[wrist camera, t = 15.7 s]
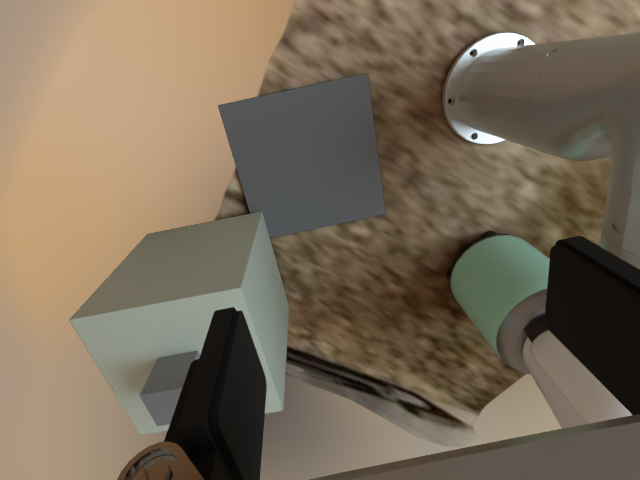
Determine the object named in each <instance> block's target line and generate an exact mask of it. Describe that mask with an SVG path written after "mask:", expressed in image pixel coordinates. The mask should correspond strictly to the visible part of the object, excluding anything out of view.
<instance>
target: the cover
mask: <svg viewBox="0 0 640 480" xmlns="http://www.w3.org/2000/svg"><path fill="white" fill-rule="evenodd" d="M231 307H234V308H235V309H236V311H240V310H241V311H242V312H243V314H244V316H245V319H246V322H247V325H248V328H249V331H250V334H251V336H252V339H253V342H254V345H255V348H256V351H257V353H258V356H259V359H260V362H261V365H262V368H263V371H264V373H265V377H266V383H267V390H266V403H265V414H266V413H272V412H278V411H283V403H284V387H285V370H286V353H287V336H288V319H289V305H288V301H287V298H286V294H285V291H284V287H283V283H282V280H281V276H280V273H279V269H278V266H277V262H276V259H275V255H274V252H273V248H272V245H271V241H270V238H269V234H268V231H267V227H266V223H265V220H264V216H263V213H262V211H261V212H256V213H251V214H246V215H241V216H236V217H231V218H226V219H221V220H216V221H211V222H206V223H201V224H196V225H191V226H186V227H181V228H175V229H170V230H165V231H160V232H155V233H150V234H147V235H146V236H145V237H144V239H142V241H141V242H140V243H139V244H138V245H137V246H136V247H135V248H134V249H133V251H131V253H130V254H129V255H128V256H127V257H126V258H125V259H124V260H123V261H122V262H121V264H120V265H119V266H118V267H117V268H116V269H115V270H114V271H113V272H112V273H111V275H110V276H109V277H108V278H107V279H106V280H105V281H104V282H103V283H102V285H101V286H100V287H99V288H98V289H97V290H96V291H95V292H94V293H93V294H92V295H91V297H90V298H89V299H88V300H87V301H86V302H85V303H84V304H83V305H82V306H81V307H80V309H79V310H78V311H77V312H76V313H75V314H74V315H73V316H72V317H71V318H70V320H69V321H70V322H71V324H72V326H73V327H74V329H75V330H76V332H77V334H78V335H79V337H80V338H81V340H82V342H83V343H84V345H85V347H86V348H87V350H88V351H89V353H90V354H91V356H92V358H93V359H94V361H95V362H96V364H97V366H98V368H99V369H100V370H101V372H102V374H103V376H104V377H105V379H106V380H107V382H108V384H109V385H110V386H111V388H112V390H113V391H114V393H115V395H116V397H117V398H118V400H119V401H120V403H121V405H122V406H123V408H124V409H125V411H126V412H127V414H128V416H129V417H130V419H131V421H132V422H133V424H134V426H135V427H136V429H137V430H138V432H139V433H140V435H143V434H149V433H155V432H160V431H166V430H168V429H169V426H170V423H171V420H172V417H173V414H174V411H175V408H176V405H177V402H178V399H179V396H180V393H181V391H182V388H183V385H184V382H185V379H186V376H187V373H188V370H189V367H190V365H191V363H192V362H193V361H194V360H196V359H199V358H200V354H201V351H202V348H203V345H204V342H205V339H206V336H207V332H208V329H209V326H210V323H211V320H212V317H213V314H214V312H215V311H216V310H221V309H226V308H231Z"/></svg>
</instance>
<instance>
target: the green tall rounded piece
mask: <svg viewBox="0 0 640 480" xmlns="http://www.w3.org/2000/svg"><path fill="white" fill-rule="evenodd" d="M549 262H550V259H549V258H548V257H546V256H545V255H544V254H542V253H541V252H540V251H538V250H537V249H536V248H534V247H533V246H532V245H530V244H529V243H528V242H526V241H524V240H523V239H521V238H519V237H516V236H512V235H508V234H496V233H495V232H493V231H488V232H486V233H485V234H484V235H483V238H481V239H479V240H477V241H475V242H473V243H471V244H470V245H469V246H468V247H467V248H465V249H464V250H463V251H462V252H461V253H460V255H459V256H458V257H457V259H456V260H455V262H454V264H453V266H452V268H451V269H450V270H448V271H447V274H446V275H447V278H448V279H449V280H450V287H451V291H452V293H453V295H454V297H455V299H456V301H457V302H458V303H459V305H460V306H461V307H462V309H463V310H464V312H465V313H466V314H467V316H468V317H469V318H470V320H471V321H472V322H473V324H474V325H475V327H476V328H477V329H478V331H479V332H480V333H481V335H482V336H483V338H484V339H485V340H486V342H487V343H488V344H489V346H490V347H491V348H492V350H493V351H494V352H495V353H496V354H497V355H498V356H499V357H500V358H501V359H502V360H503V361H504V362H505V363H506V364H507V365H509V366H511V367H513V368H515V369H517V370H519V371H521V372H524V373H526V374H531V375H532V377H533V378H534V380H535V382H536V384H537V386H538V387H539V389H540V391H541V392H542V394H543V396H544V398H545V399H546V401H547V403H548V405H549V406H550V408H551V410H552V412H553V414H554V415H555V417H556V419H557V421H558V423H559V424H560V426H561V428H562V429H563V428H568V427H574V426H579V425H584V424H590V423H595V422H600V421H605V420H611V419H616V418H621V417H626V416H632V414H631V413H630V412H629V411H628V410H627V409H626V408H625V407H624V406H623V405H622V404H621V403H620V402H619V401H618V400H617V399H616V398H615V397H614V396H613V395H612V394H611V393H610V392H609V391H608V390H607V389H606V388H605V387H604V386H603V385H602V383H601V382H600V381H599V380H598V379H597V378H596V377H595V376H594V375H593V374H592V373H591V372H590V371H589V370H588V369H587V368H586V367H585V366H584V365H583V364H582V363H581V362H580V361H579V360H578V359H577V358H576V357H575V356H574V355H573V354H572V353H571V352H570V351H569V350H568V349H567V348H566V347H565V346H564V345H563V344H562V343H561V342H560V341H559V340H558V339H557V338H556V337H555V336H554V335H553V334H552V333H551V332H550V331H549V329H548V328H547V326H546V324H545V308H546V296H547V285H548V273H549Z"/></svg>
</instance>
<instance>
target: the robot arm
mask: <svg viewBox="0 0 640 480" xmlns="http://www.w3.org/2000/svg"><path fill="white" fill-rule="evenodd" d="M517 41H518V45H517ZM470 51H471V52H472V55H471V56H470ZM449 99H450V100H451V101H450V103H448V100H449ZM442 105H443V110H444V115H445V117H446V120H447V122H448V124H449V125H450V127H451V128H452V130H453V131H454V132H455V133H456V134H457V135H458V136H460V137H461V138H463V139H465V140H467V141H469V142H472V143H476V144H481V145H487V144H495V143H500V142H503V141H505V140H508V141H511V142H514V143H517V144H520V145H523V146H526V147H529V148H533V149H536V150H539V151H542V152H545V153H548V154H551V155H554V156H558V157H561V158H564V159H569V160H575V161H589V160H595V159H601V158H605V157H609V156H612V158H611V165H610V172H609V175H610V180H609V187H608V194H607V200H606V207H605V213H604V220H603V226H602V234H601V245H600V246H598V245H596V244H594V243H593V242H591V241H589V240H587V239H586V238H584V237H581V236H576V237H571V238H566V239H562V240H559V241H557V242H556V244H555V246H553V247H552V248H551V251H550V262H549V273H548V285H547V296H546V308H545V324H546V326H547V328H548V329H549V331H550V332H551V333H552V334H553V335H554V336H555V337H556V338H557V339H558V340H559V341H560V342H561V343H562V344H563V345H564V346H565V347H566V348H567V349H568V350H569V351H570V352H571V353H572V354H573V355H574V356H575V357H576V358H577V359H578V360H579V361H580V362H581V363H582V364H583V365H584V366H585V367H586V368H587V369H588V370H589V371H590V372H591V373H592V374H593V375H594V376H595V377H596V378H597V379H598V380H599V381H600V382H601V383H602V385H603V386H604V387H605V388H606V389H607V390H608V391H609V392H610V393H611V394H612V395H613V396H614V397H615V398H616V399H617V400H618V401H619V402H620V403H621V404H622V405H623V406H624V407H625V408H626V409H627V410H628V411H629V412H630V413H631V414H632V416H626V417H621V418H616V419H611V420H605V421H600V422H595V423H590V424H584V425H579V426H574V427H568V428H563V429H558V430H553V431H549V432H543V433H538V434H533V435H527V436H522V437H517V438H512V439H507V440H502V441H497V442H492V443H487V444H481V445H476V446H471V447H466V448H461V449H456V450H451V451H446V452H441V453H436V454H431V455H426V456H421V457H416V458H411V459H406V460H401V461H396V462H392V463H387V464H382V465H377V466H372V467H367V468H362V469H357V470H352V471H347V472H342V473H338V474H333V475H329V476H324V477H319V478H315V479H310V480H640V32H636V33H630V34H623V35H615V36H606V37H597V38H591V39H581V40H572V41H562V42H552V43H543V44H535V43H534V42H533V41H532V40H530V39H529V38H527V37H526V36H523V35H521V34H518V33H512V32H502V33H495V34H491V35H487V36H485V37H483V38H480V39H478V40H477V41H475V42H474V43H472V44H471V45H469V46H468V47H467V48H466V49H465V50H464V51H463V52H462V53H461V54H460V55H459V56H458V58H457V59H456V60H455V62H454V63H453V65H452V66H451V68H450V70H449V72H448V74H447V77H446V80H445V83H444V88H443V94H442ZM472 134H473V136H472V137H471V135H472ZM266 390H267V383H266V377H265V373H264V371H263V368H262V365H261V362H260V359H259V356H258V353H257V351H256V348H255V345H254V342H253V339H252V336H251V334H250V331H249V328H248V325H247V322H246V319H245V316H244V314H243V312H242V311H241V310H240V311H236V309H235V308H234V307H231V308H226V309H221V310H216V311H215V312H214V314H213V317H212V320H211V323H210V326H209V329H208V332H207V336H206V339H205V342H204V345H203V348H202V351H201V354H200V358H199V359H196V360H194V361H193V362H192V363H191V365H190V367H189V370H188V373H187V376H186V379H185V382H184V385H183V388H182V391H181V393H180V396H179V399H178V402H177V405H176V408H175V411H174V414H173V417H172V420H171V423H170V426H169V429H168V432H167V435H166V437H165V440H164V442H159V443H156V444H154V445H151V446H149V447H147V448H145V449H144V450H143V451H141V452H139V453H138V454H137V455H136V456H135V457H134V458H133V459H132V460H130V461H129V462H128V464H127V465H126V466H125V468H124V469H123V470H122V471H121V473H120V475H119V477H118V479H117V480H260V467H261V454H262V440H263V428H264V416H265V403H266Z"/></svg>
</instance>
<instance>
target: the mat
mask: <svg viewBox="0 0 640 480" xmlns="http://www.w3.org/2000/svg"><path fill="white" fill-rule="evenodd" d="M218 107H219V111H220V114H221V118H222V121H223V124H224V128H225V131H226V134H227V138H228V141H229V144H230V148H231V151H232V155H233V158H234V161H235V165H236V168H237V171H238V175H239V178H240V181H241V185H242V188H243V191H244V195H245V198H246V202H247V205H248V208H249V212H250V214H251V213H256V212H261V211H262V213H263V216H264V220H265V223H266V227H267V231H268V234H269V238H273V237H278V236H283V235H288V234H292V233H297V232H302V231H307V230H311V229H316V228H321V227H326V226H331V225H335V224H340V223H345V222H350V221H355V220H359V219H364V218H369V217H374V216H379V215H383V214H386V213H385V205H384V198H383V190H382V182H381V174H380V166H379V158H378V150H377V142H376V134H375V126H374V118H373V110H372V102H371V94H370V86H369V78H368V73H366V74H361V75H357V76H352V77H347V78H343V79H338V80H333V81H329V82H324V83H319V84H315V85H310V86H306V87H301V88H296V89H292V90H287V91H282V92H278V93H273V94H268V95H264V96H259V97H255V98H250V99H246V100H241V101H236V102H231V103H227V104H222V105H219V106H218Z"/></svg>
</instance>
